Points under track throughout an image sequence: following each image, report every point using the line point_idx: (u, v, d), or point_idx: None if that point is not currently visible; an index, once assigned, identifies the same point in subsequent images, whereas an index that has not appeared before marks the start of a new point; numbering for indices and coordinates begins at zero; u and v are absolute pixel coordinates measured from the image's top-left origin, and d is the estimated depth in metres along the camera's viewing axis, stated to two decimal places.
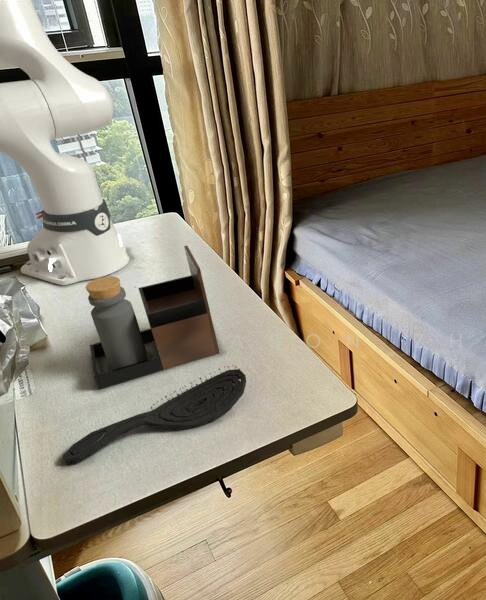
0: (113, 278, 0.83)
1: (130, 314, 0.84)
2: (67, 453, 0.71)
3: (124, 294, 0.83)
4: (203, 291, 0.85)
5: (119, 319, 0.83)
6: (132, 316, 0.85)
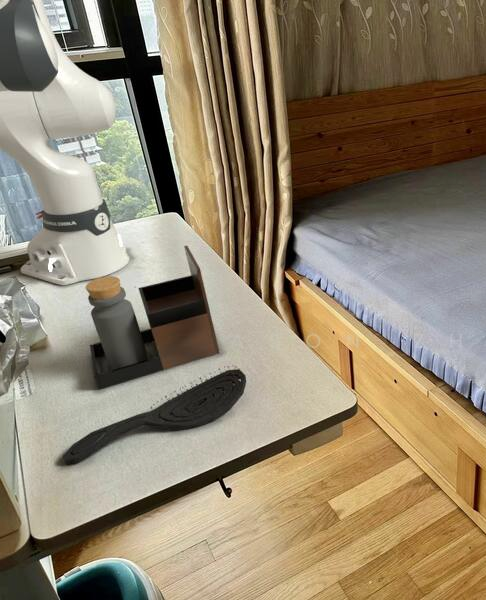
0: (113, 278, 0.83)
1: (130, 314, 0.84)
2: (67, 453, 0.71)
3: (124, 294, 0.83)
4: (203, 291, 0.85)
5: (119, 319, 0.83)
6: (132, 316, 0.85)
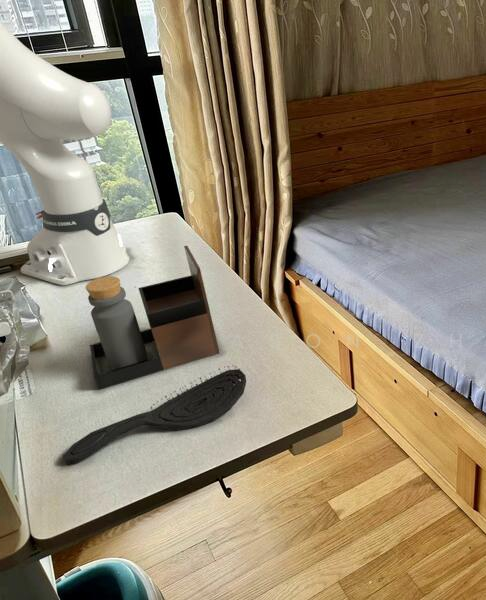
0: (113, 278, 0.83)
1: (130, 314, 0.84)
2: (67, 453, 0.71)
3: (124, 294, 0.83)
4: (203, 291, 0.85)
5: (119, 319, 0.83)
6: (132, 316, 0.85)
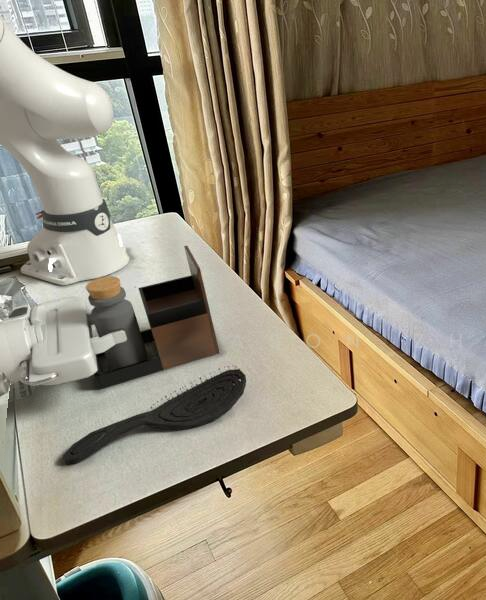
0: (113, 278, 0.83)
1: (130, 314, 0.84)
2: (67, 453, 0.71)
3: (124, 294, 0.83)
4: (203, 291, 0.85)
5: (119, 319, 0.83)
6: (132, 317, 0.85)
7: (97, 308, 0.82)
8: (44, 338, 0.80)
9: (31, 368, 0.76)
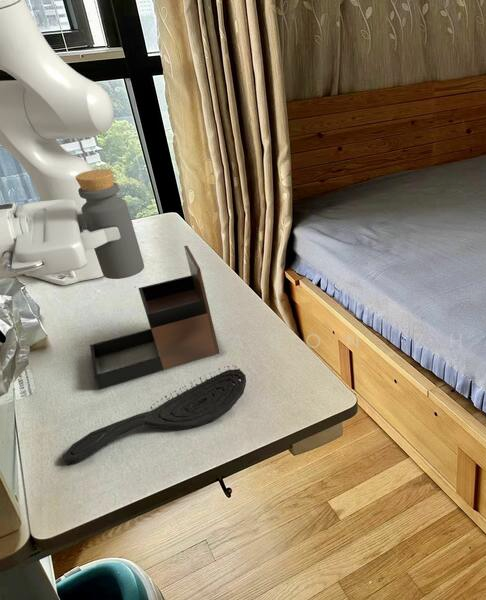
0: (106, 170, 0.76)
1: (124, 212, 0.78)
2: (67, 453, 0.71)
3: (118, 188, 0.77)
4: (203, 291, 0.85)
5: (112, 214, 0.76)
6: (126, 215, 0.78)
7: (88, 202, 0.75)
8: (30, 230, 0.73)
9: (14, 257, 0.69)
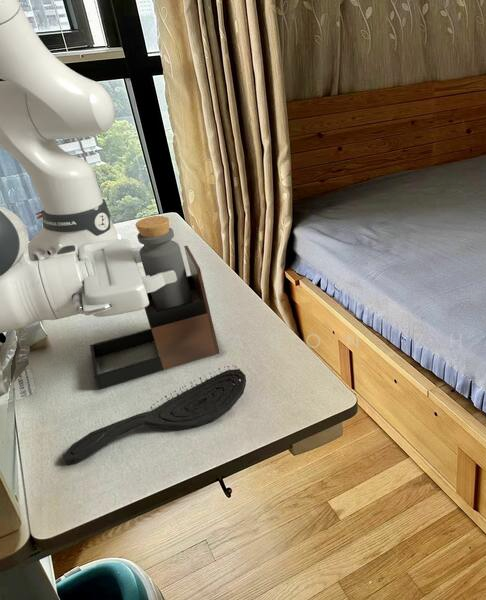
0: (162, 217, 0.83)
1: (178, 255, 0.84)
2: (67, 453, 0.71)
3: (173, 234, 0.83)
4: (203, 291, 0.85)
5: (168, 258, 0.82)
6: (179, 257, 0.84)
7: (146, 247, 0.82)
8: (94, 272, 0.79)
9: (84, 299, 0.75)
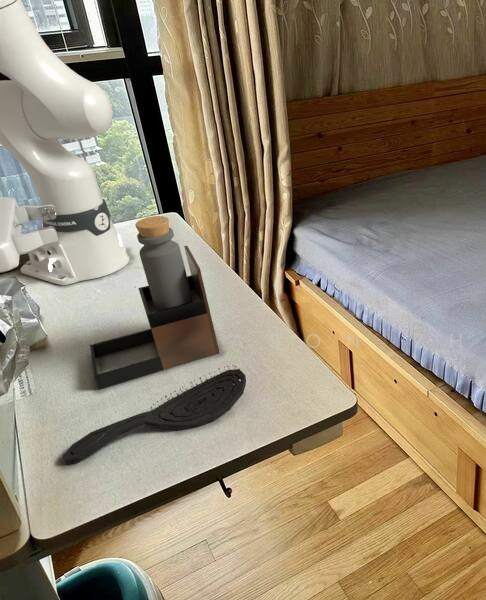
0: (162, 217, 0.83)
1: (178, 255, 0.84)
2: (67, 453, 0.71)
3: (172, 234, 0.83)
4: (203, 291, 0.85)
5: (167, 258, 0.82)
6: (179, 257, 0.84)
7: (146, 247, 0.82)
8: None
9: None
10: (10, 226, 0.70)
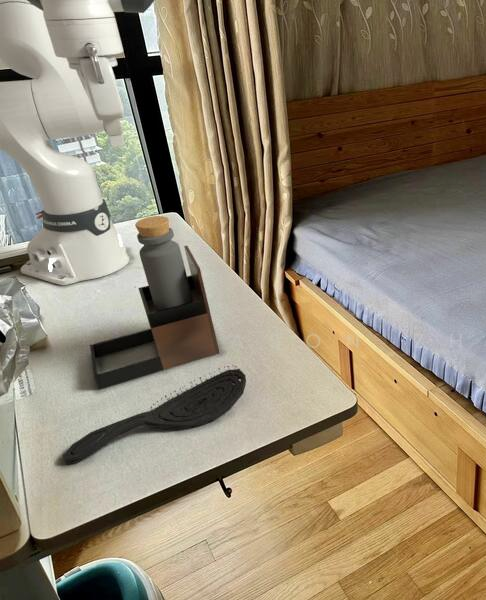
0: (161, 217, 0.83)
1: (178, 255, 0.84)
2: (67, 453, 0.71)
3: (172, 234, 0.83)
4: (203, 291, 0.85)
5: (167, 258, 0.82)
6: (179, 257, 0.84)
7: (146, 247, 0.82)
8: None
9: None
10: None
